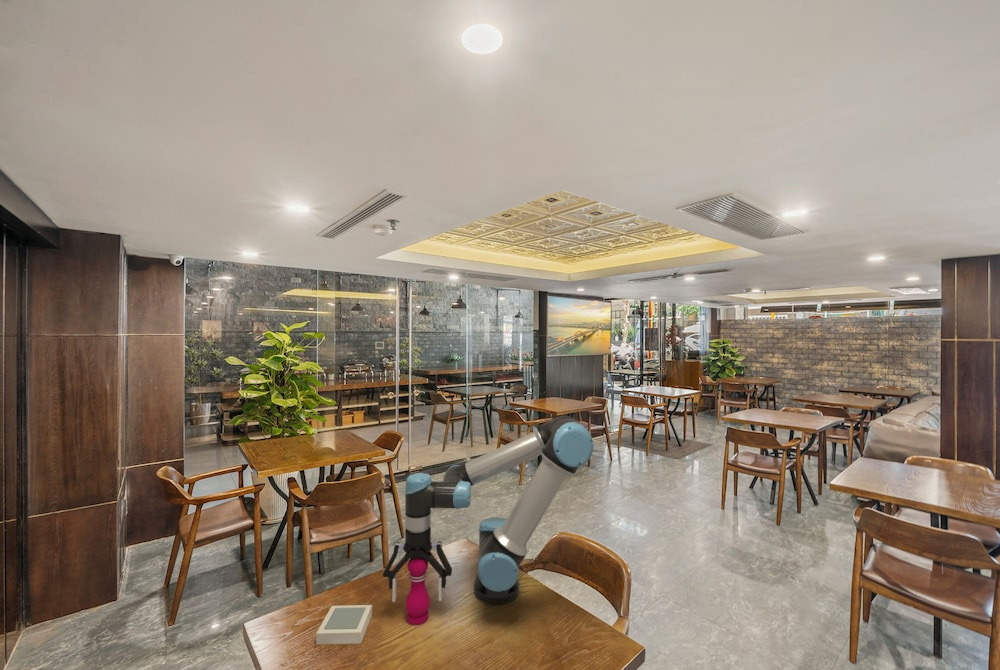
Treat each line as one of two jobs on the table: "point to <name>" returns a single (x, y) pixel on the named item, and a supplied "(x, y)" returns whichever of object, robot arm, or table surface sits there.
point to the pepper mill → (417, 593)
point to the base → (344, 625)
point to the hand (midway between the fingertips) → (417, 598)
